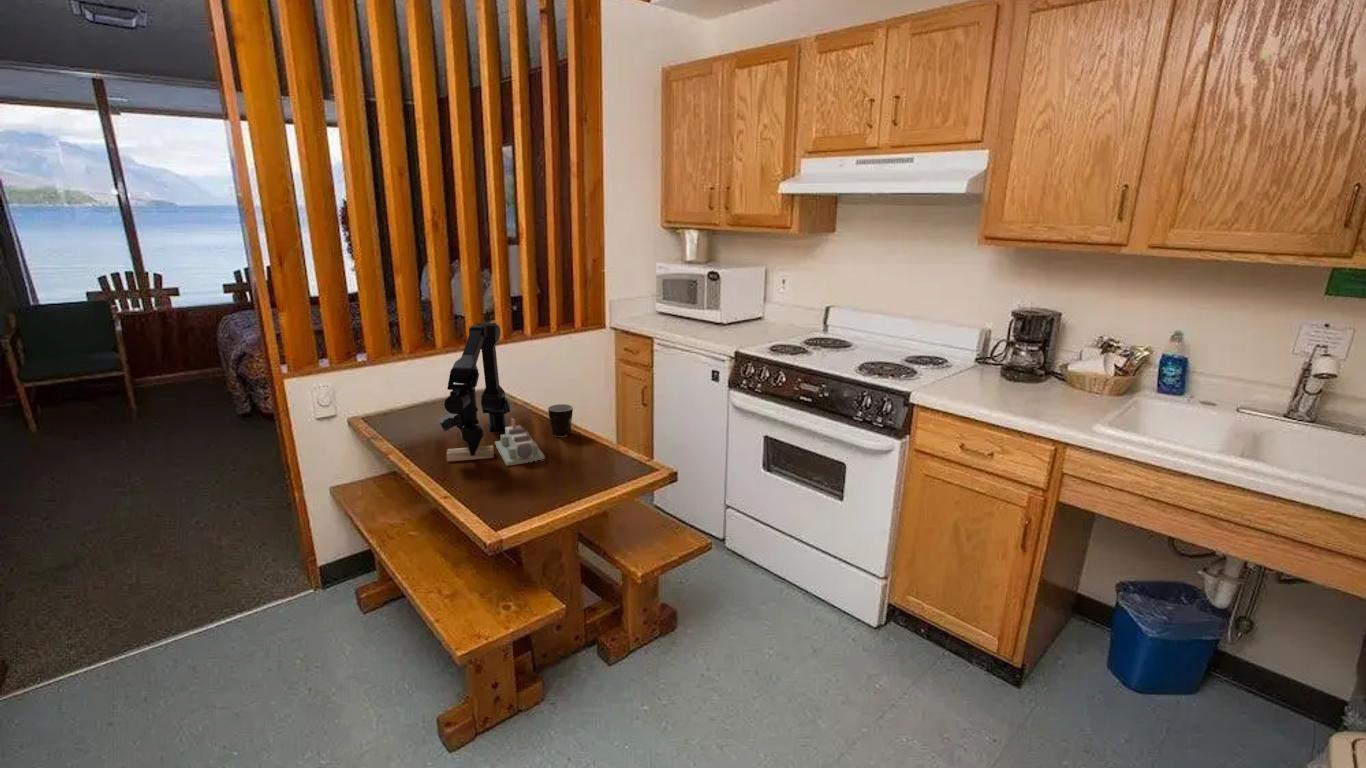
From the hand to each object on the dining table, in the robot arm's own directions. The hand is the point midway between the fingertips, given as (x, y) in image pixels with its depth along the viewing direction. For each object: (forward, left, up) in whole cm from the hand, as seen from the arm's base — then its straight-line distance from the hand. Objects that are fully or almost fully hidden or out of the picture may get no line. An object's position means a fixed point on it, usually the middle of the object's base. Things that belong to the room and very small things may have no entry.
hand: (470, 450), depth 195 cm
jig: (+2, +15, -2) cm, 15 cm away
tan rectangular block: (0, 0, -3) cm, 3 cm away
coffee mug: (-8, +31, -2) cm, 32 cm away
